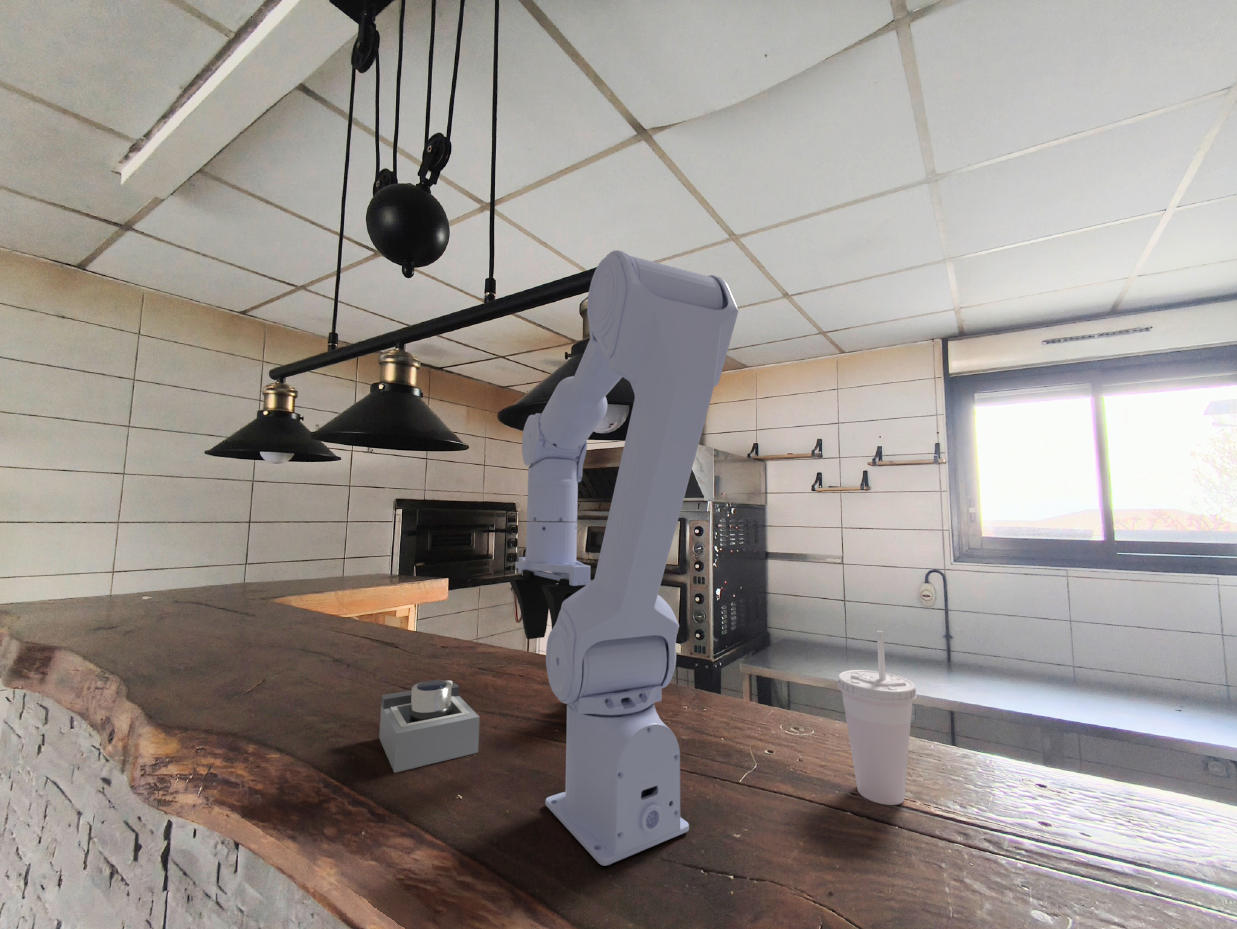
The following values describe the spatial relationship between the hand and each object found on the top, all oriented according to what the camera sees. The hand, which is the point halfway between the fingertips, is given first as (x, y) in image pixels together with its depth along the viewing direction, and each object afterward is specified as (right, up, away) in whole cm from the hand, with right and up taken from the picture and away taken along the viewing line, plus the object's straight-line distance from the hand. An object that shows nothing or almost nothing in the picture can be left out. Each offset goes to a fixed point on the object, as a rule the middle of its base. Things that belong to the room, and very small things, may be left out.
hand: (549, 644), depth 57 cm
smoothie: (+31, -9, -12) cm, 34 cm away
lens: (-12, -10, -3) cm, 16 cm away
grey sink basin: (-12, -10, -3) cm, 16 cm away
